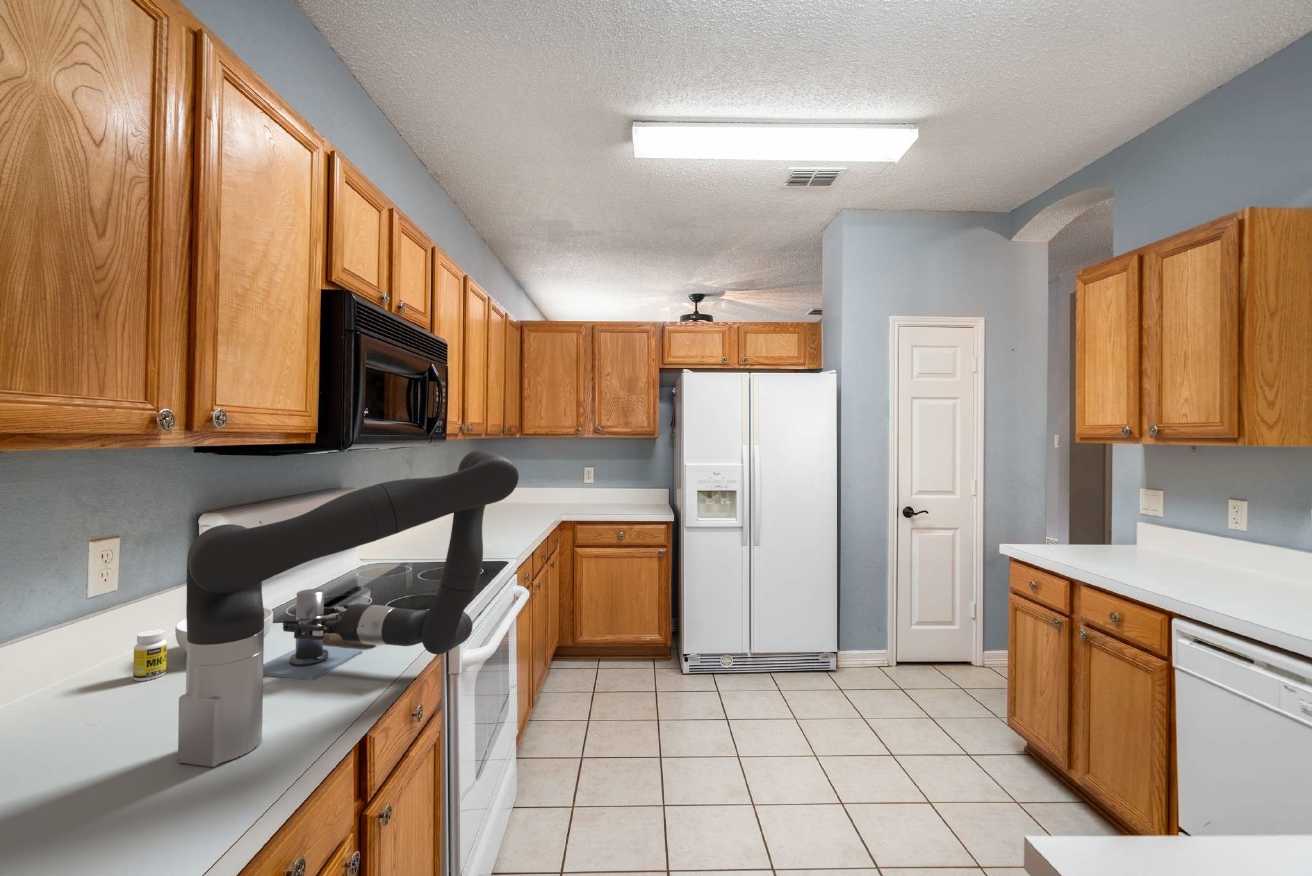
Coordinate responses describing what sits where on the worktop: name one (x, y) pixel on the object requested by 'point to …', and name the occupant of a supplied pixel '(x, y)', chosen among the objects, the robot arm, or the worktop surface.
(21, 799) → the worktop surface
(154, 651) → the supplement bottle
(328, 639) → the frame
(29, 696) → the worktop surface
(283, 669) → the mat
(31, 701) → the worktop surface
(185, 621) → the cereal bowl
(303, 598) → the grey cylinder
